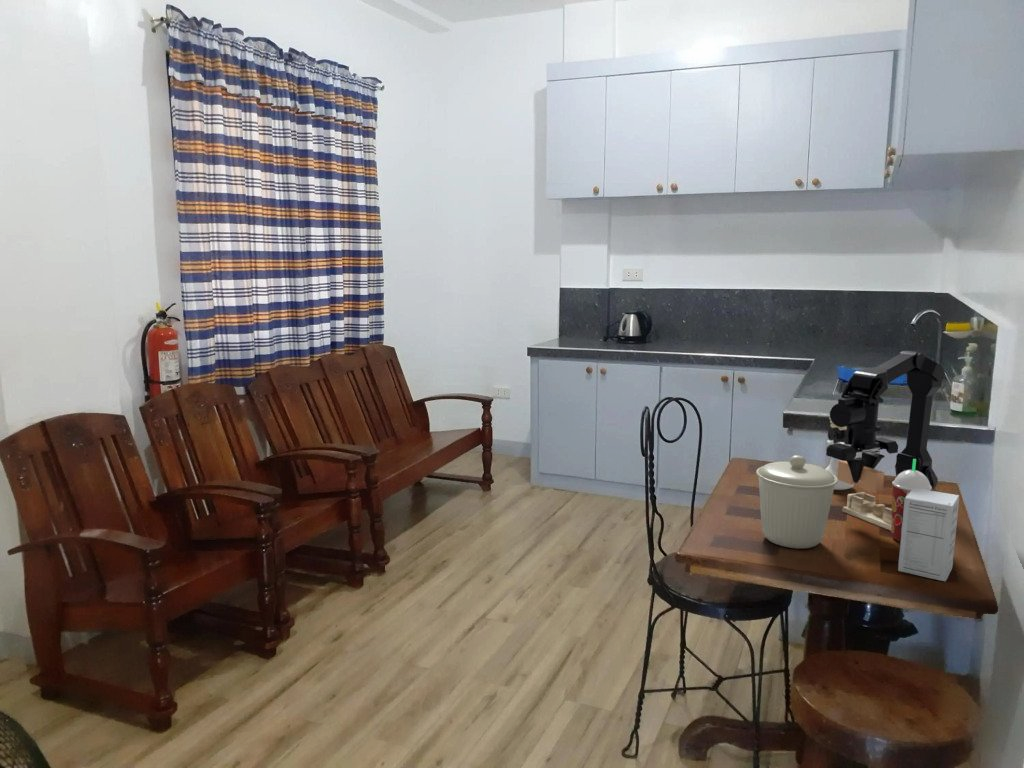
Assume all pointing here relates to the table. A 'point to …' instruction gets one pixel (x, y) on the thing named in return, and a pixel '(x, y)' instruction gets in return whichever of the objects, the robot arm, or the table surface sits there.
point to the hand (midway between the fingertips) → (859, 481)
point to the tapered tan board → (862, 477)
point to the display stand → (868, 509)
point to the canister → (795, 502)
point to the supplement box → (928, 533)
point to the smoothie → (901, 490)
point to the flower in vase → (834, 464)
